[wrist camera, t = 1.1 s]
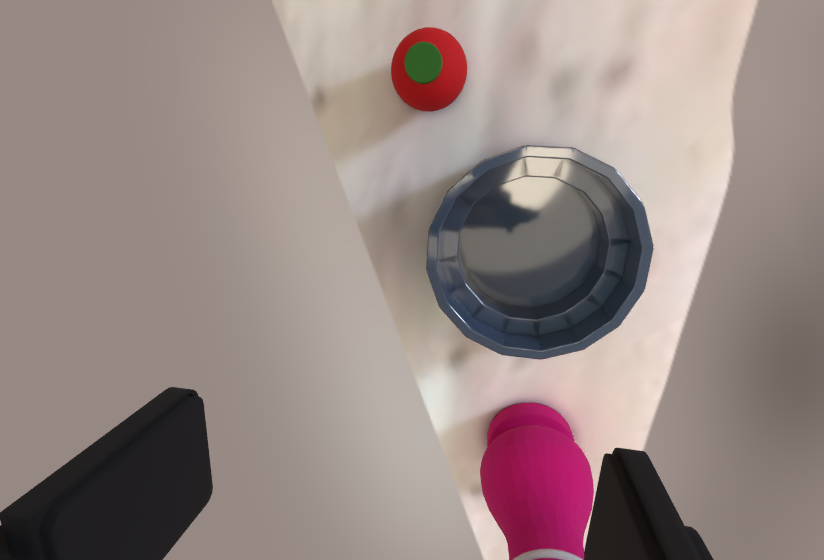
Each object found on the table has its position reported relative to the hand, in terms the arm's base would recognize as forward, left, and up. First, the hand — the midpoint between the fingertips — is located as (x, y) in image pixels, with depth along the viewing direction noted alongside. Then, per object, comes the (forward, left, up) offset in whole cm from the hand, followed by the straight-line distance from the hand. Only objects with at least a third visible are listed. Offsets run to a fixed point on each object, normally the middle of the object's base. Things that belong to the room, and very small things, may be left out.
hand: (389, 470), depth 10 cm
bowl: (-1, +5, -22) cm, 22 cm away
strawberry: (-11, -2, -22) cm, 25 cm away
